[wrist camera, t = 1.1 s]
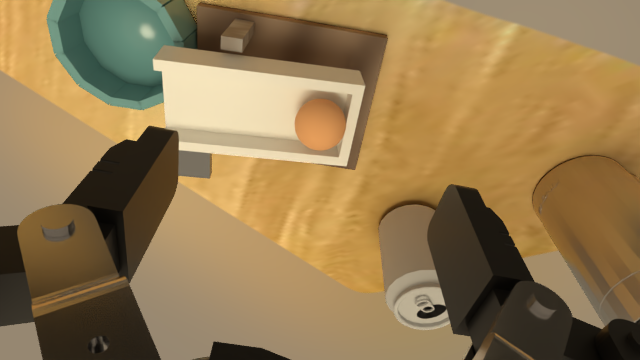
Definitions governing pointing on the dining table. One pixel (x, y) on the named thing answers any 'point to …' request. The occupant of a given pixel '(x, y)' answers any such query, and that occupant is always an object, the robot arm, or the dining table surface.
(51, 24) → the teal round bowl
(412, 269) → the can
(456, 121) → the dining table surface
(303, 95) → the cream shallow tray
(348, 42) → the stand
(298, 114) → the ball
